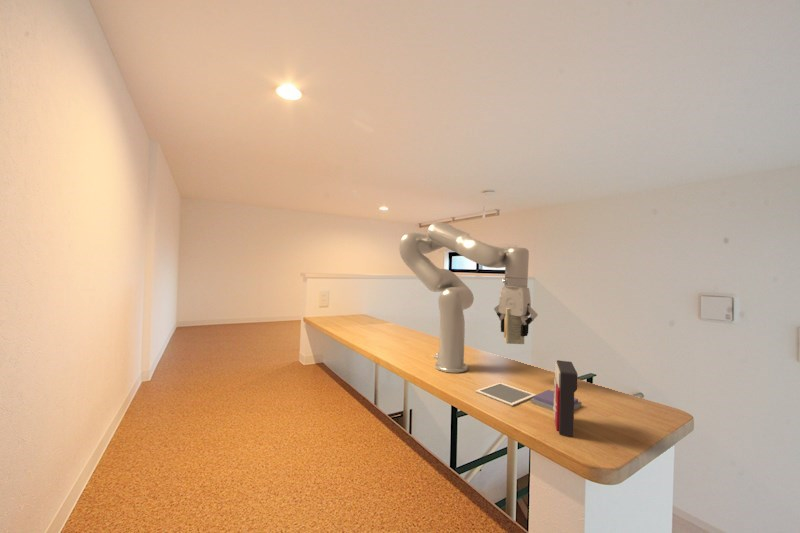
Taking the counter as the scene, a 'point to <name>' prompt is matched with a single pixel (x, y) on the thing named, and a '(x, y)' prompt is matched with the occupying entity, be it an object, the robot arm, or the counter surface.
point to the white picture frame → (506, 394)
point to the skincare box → (512, 329)
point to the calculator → (564, 397)
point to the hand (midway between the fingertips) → (513, 333)
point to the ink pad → (549, 400)
